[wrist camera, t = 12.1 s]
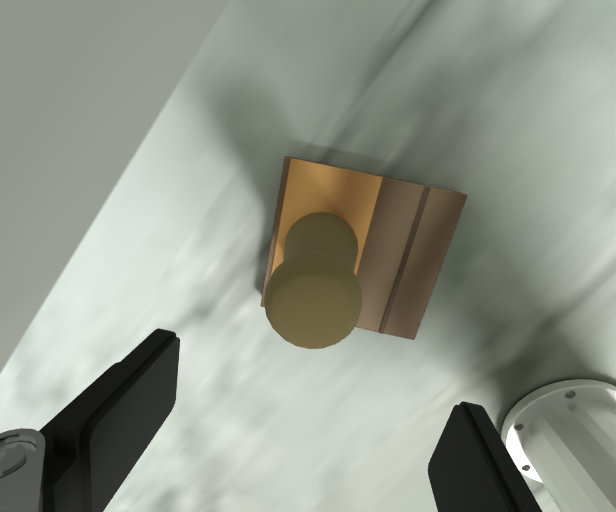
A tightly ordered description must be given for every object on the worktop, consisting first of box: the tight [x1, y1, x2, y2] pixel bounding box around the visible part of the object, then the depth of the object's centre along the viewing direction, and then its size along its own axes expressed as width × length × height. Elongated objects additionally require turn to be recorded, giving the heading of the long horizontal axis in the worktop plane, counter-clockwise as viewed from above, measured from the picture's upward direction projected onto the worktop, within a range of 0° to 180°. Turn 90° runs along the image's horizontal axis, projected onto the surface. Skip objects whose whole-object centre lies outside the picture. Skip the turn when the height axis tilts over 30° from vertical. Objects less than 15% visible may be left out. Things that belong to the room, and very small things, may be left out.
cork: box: [264, 212, 363, 349], centre depth 20 cm, size 6×6×11 cm
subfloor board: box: [261, 156, 467, 340], centre depth 26 cm, size 14×13×2 cm
